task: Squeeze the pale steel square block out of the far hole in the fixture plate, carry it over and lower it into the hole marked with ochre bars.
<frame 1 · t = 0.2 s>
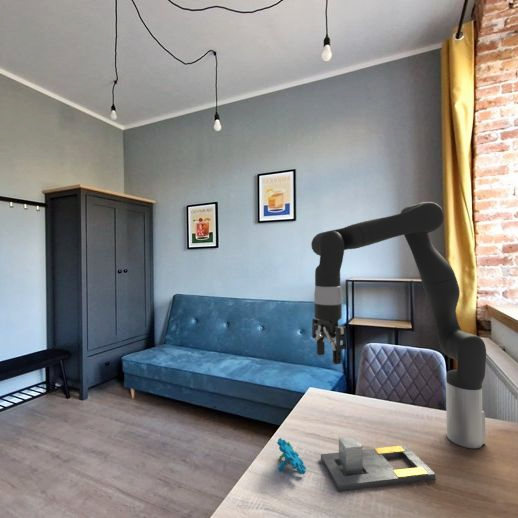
hand: (328, 358, 87), 28 cm above the table, fingers open, 8 cm apart
steel block: (350, 472, 81), resting in fixture plate
gear: (291, 469, 82), on the table
fixture plate: (375, 469, 82), on the table
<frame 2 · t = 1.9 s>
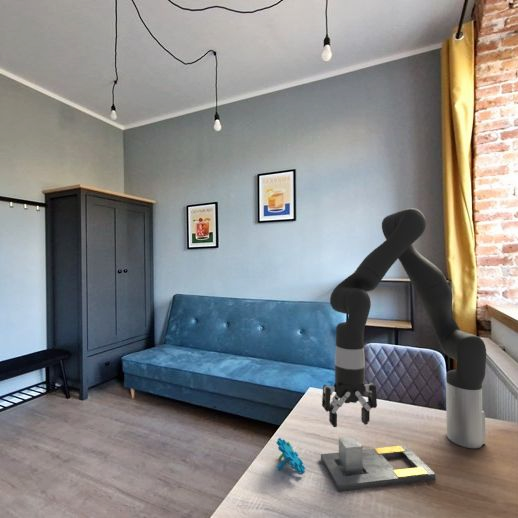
hand: (349, 424, 81), 12 cm above the table, fingers open, 8 cm apart
nothing on the table moved.
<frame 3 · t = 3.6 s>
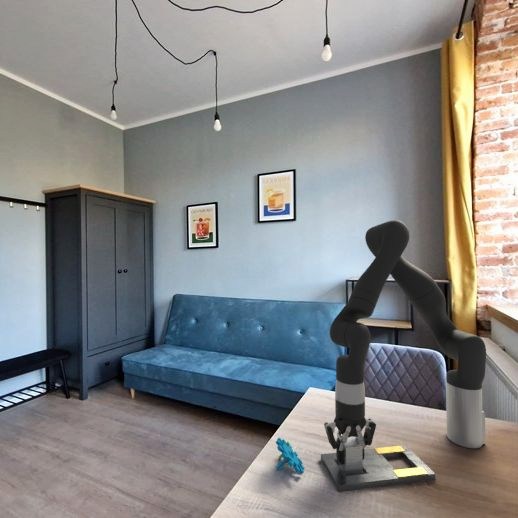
hand: (350, 461, 81), 3 cm above the table, fingers closed on steel block, 4 cm apart
steel block: (350, 472, 81), resting in fixture plate, touching gripper
everything else where it was.
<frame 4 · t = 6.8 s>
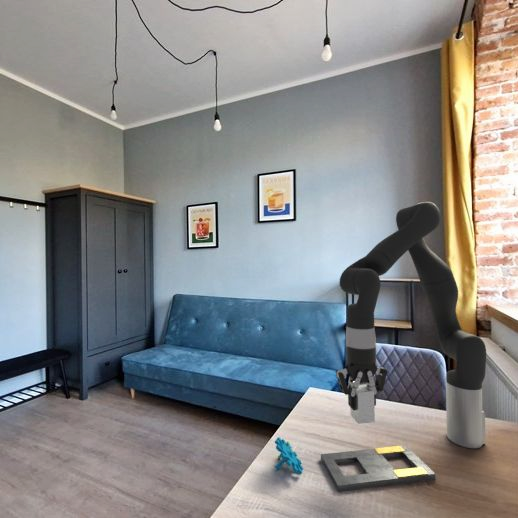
hand: (362, 407, 81), 17 cm above the table, fingers closed on steel block, 4 cm apart
steel block: (362, 418, 81), point 14 cm above the table, touching gripper
everything else where it was.
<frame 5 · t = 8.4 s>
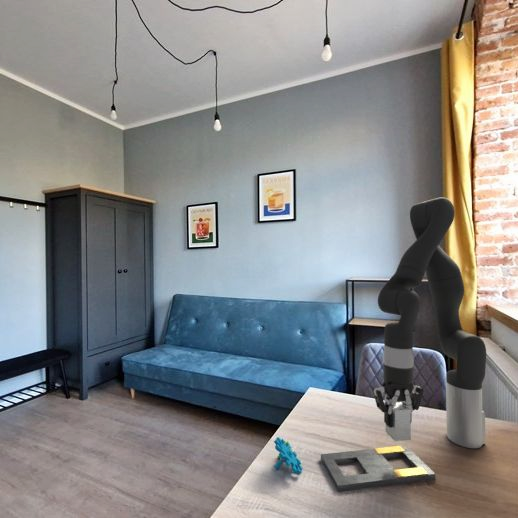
hand: (397, 425, 83), 11 cm above the table, fingers closed on steel block, 4 cm apart
steel block: (397, 435, 83), point 8 cm above the table, touching gripper
everything else where it was.
when the fingers open (4 cm above the table, at t = 10.0 s): steel block stays where it is, resting in fixture plate.
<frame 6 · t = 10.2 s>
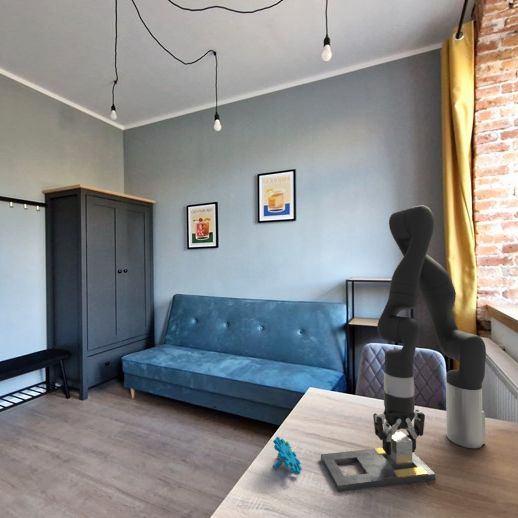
hand: (399, 451, 83), 4 cm above the table, fingers open, 6 cm apart
steel block: (399, 466, 83), resting in fixture plate
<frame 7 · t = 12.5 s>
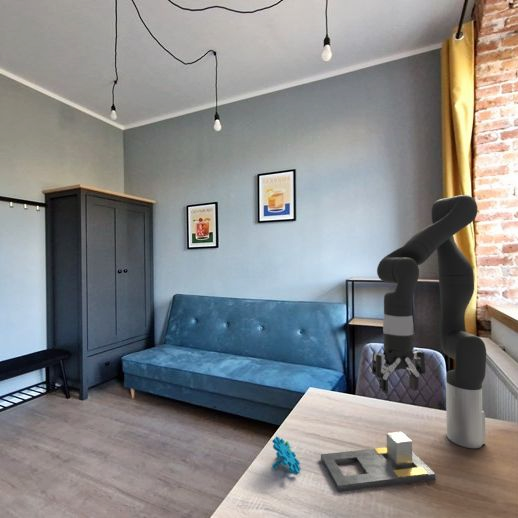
hand: (398, 390, 83), 20 cm above the table, fingers open, 8 cm apart
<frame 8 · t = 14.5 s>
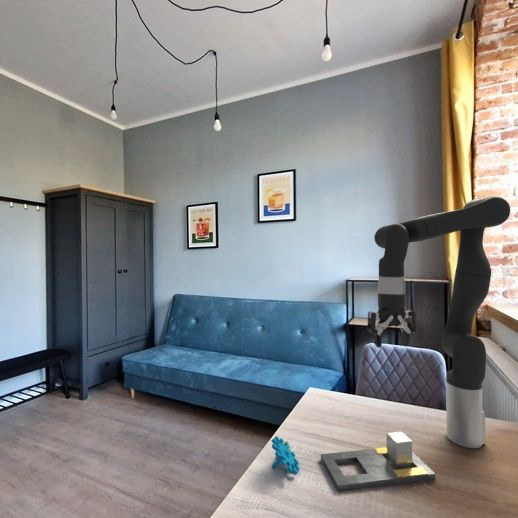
hand: (391, 346, 91), 30 cm above the table, fingers open, 8 cm apart
at the end: steel block 0.0 cm from the target spot, resting in fixture plate; steel block tilted 0°; the gripper is holding nothing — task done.
